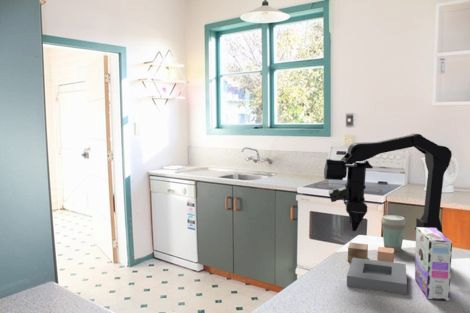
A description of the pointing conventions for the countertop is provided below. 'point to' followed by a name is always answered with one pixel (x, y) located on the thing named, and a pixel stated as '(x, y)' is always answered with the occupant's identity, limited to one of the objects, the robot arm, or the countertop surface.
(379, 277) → the grey slotted square board
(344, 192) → the robot arm
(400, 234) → the coffee cup
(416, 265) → the candy box
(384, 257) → the peach cube
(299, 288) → the countertop surface
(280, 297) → the countertop surface
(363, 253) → the walnut block
